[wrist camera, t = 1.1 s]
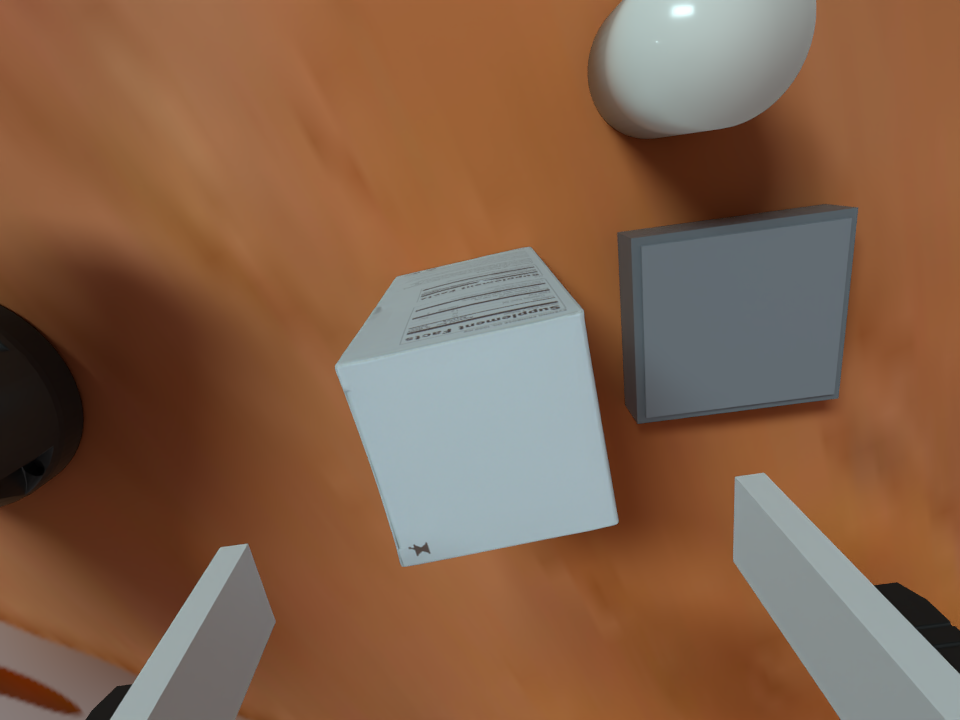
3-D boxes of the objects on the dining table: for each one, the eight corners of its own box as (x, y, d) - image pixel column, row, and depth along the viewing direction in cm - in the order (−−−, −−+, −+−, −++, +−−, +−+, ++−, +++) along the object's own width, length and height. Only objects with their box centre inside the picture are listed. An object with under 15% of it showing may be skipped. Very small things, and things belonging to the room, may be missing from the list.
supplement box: (558, 377, 37) (626, 535, 21) (429, 406, 38) (401, 580, 22) (532, 240, 34) (589, 306, 18) (391, 273, 35) (326, 364, 19)
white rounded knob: (591, 147, 32) (635, 140, 24) (583, 0, 30) (629, -66, 21) (718, 129, 32) (809, 116, 24) (721, -20, 29) (823, -95, 21)
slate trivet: (624, 404, 38) (638, 425, 35) (617, 232, 34) (632, 239, 31) (810, 380, 38) (841, 400, 35) (825, 203, 34) (861, 208, 30)
